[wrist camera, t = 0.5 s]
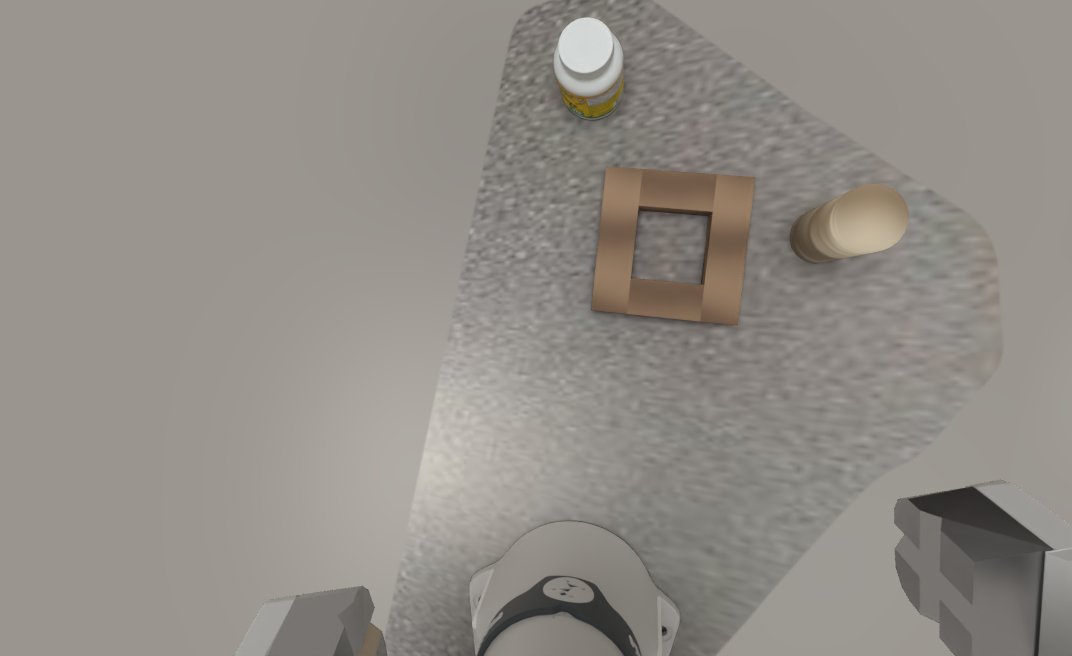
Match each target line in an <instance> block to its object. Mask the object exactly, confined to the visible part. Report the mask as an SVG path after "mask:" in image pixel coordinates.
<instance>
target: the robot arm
mask: <svg viewBox="0 0 1072 656" xmlns="http://www.w3.org/2000/svg"><path fill="white" fill-rule="evenodd" d="M894 523H895V524H896V526H897V527H898V528H899V529H900V530H901V531H902V532H903V533H904V534H905V535H904V536H903V538H902V539H901V540H900V542H899V543H898V545H897V546H896V548H895V561H896V570H897V573H898V576H899V579H900V582H901V586H902V588H903V590H904V591H905V593H906V595H907V597H908V599H909V600H910V602H911V603H912V604H913V606H914V607H915V608H916V609H917V610H918V612H919V613H920V614H921V615H924V616H926V617H928V618H930V619H932V620H934V621H936V622H938V623H940V639H941V640H942V641H943V642H944V643H945V645H946V646H947V647H948V648H949V649H950V651H951V652H952V653H953V654H954V655H955V656H1072V526H1071V525H1070V524H1068V523H1067V522H1065V521H1064V520H1063V519H1061V518H1060V517H1058V516H1057V515H1056V514H1054V513H1053V512H1051V511H1050V510H1049V509H1047V508H1046V507H1044V506H1043V505H1042V504H1040V503H1039V502H1037V501H1036V500H1035V499H1033V498H1032V497H1030V496H1029V495H1028V494H1026V493H1025V492H1023V491H1022V490H1020V489H1019V488H1018V487H1016V486H1015V485H1013V484H1012V483H1010V482H1007V481H1003V480H996V481H991V482H986V483H980V484H976V485H970V486H966V487H965V488H960V489H955V490H949V491H942V492H936V493H931V494H925V495H919V496H913V497H907V498H902V499H898V500H897V503H896V506H895V508H894ZM469 595H470V605H471V616H472V627H473V637H474V647H475V656H669V654H670V651H671V648H672V645H673V642H674V639H675V636H676V633H677V630H678V627H679V623H680V612H679V609H678V607H677V606H676V605H675V604H674V602H673V601H672V600H671V599H670V598H668V597H667V596H666V595H665V594H664V593H663V592H661V591H660V590H659V589H658V588H657V587H656V586H655V585H654V583H653V581H652V580H651V578H650V576H649V574H648V572H647V570H646V568H645V566H644V565H643V563H642V561H641V560H640V558H639V557H638V556H637V554H636V553H635V552H634V551H633V550H632V549H631V548H630V547H629V546H628V545H627V544H626V543H625V542H624V541H623V540H621V539H620V538H619V537H617V536H616V535H614V534H613V533H611V532H609V531H607V530H605V529H603V528H601V527H598V526H595V525H592V524H588V523H583V522H576V521H562V522H555V523H550V524H546V525H543V526H540V527H538V528H536V529H534V530H532V531H530V532H528V533H527V534H525V535H524V536H522V537H521V538H520V539H519V540H518V541H516V542H515V543H514V544H513V546H512V547H511V548H510V549H509V550H508V551H507V553H506V554H505V555H504V556H503V557H502V558H501V559H500V560H499V561H498V562H496V563H494V564H491V565H489V566H487V567H485V568H483V569H481V570H479V571H478V572H476V573H475V574H474V575H473V577H472V578H471V581H470V585H469ZM480 596H481V598H480ZM374 608H375V607H374V604H373V602H372V599H371V596H370V593H369V591H368V589H366V588H365V587H363V586H359V587H353V588H345V589H337V590H330V591H324V592H317V593H309V594H303V595H300V596H299V595H296V596H289V597H284V598H277V599H271V600H269V601H267V602H266V603H265V604H263V605H262V606H261V608H260V610H259V612H258V614H257V615H256V617H255V619H254V621H253V623H252V624H251V626H250V628H249V630H248V631H247V633H246V635H245V637H244V639H243V640H242V642H241V644H240V646H239V647H238V649H237V651H236V653H235V655H234V656H387V650H386V644H385V640H384V637H383V634H382V631H381V630H379V629H378V628H377V627H376V626H374V625H373V624H372V623H371V622H370V620H371V618H372V614H373V611H374ZM661 626H663V627H665V628H666V631H664V632H662V627H661Z"/></svg>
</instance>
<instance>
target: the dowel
mask: <svg viewBox="0 0 1072 656" xmlns="http://www.w3.org/2000/svg"><path fill="white" fill-rule="evenodd" d="M908 221H909V213H908V208H907V205H906V202H905V201H904V199H903V198H902V196H901V195H900V194H899V193H898V192H897V191H895V190H894V189H892V188H891V187H888V186H886V185H882V184H866V185H862V186H860V187H857V188H855V189H853V190H851V191H849V192H847V193H845V194H843V195H841V196H839V197H837V198H835V199H833V200H831V201H829V202H827V203H825V204H823V205H821V206H819V207H817V208H815V209H813V210H811V211H809V212H807V213H806V214H804V215H802V216H801V217H800V218H798V219H797V221H796V222H795V223H794V225H793V227H792V229H791V233H790V242H791V246H792V248H793V250H794V252H795V253H796V254H797V255H798V256H799V257H800V258H801V259H803V260H805V261H807V262H810V263H824V262H828V261H833V260H838V259H843V258H848V257H853V256H857V255H862V254H867V253H872V252H877V251H881V250H884V249H887V248H889V247H891V246H892V245H894V244H895V243H896V242H898V241H899V239H900V238H901V237H902V236H903V234H904V233H905V231H906V228H907V225H908Z"/></svg>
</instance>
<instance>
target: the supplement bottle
mask: <svg viewBox="0 0 1072 656" xmlns="http://www.w3.org/2000/svg"><path fill="white" fill-rule="evenodd" d="M554 70H555V75H556V78H557V81H558V84H559V87H560V90H561V93H562V96H563V99H564V102H565V104H566V106H567V107H568V108H569V110H570V111H571V112H573V113H574V114H576V115H577V116H579V117H581V118H584V119H588V120H596V119H600V118H603V117H605V116H607V115H609V114H610V113H612V112H613V111H614V110H615V109H616V108H617V106H618V105H619V103H620V101H621V99H622V96H623V92H624V61H623V52H622V48H621V45H620V43H619V41H618V40H617V38H616V37H615V36H614V35H613V34H612V33H611V32H610V30H609V29H608V27H607V26H606V25H605V24H604V23H602V22H601V21H599V20H597V19H594V18H580V19H577V20H575V21H573V22H572V23H570V24H569V25H568V26H567V27H566V28H565V29H564V30H563V32H562V34H561V36H560V39H559V43H558V45H557V48H556V51H555V54H554Z"/></svg>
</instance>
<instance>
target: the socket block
mask: <svg viewBox="0 0 1072 656" xmlns="http://www.w3.org/2000/svg"><path fill="white" fill-rule="evenodd" d="M754 183H755V177H743V176H729V175H716V174H702V173H688V172H675V171H661V170H647V169H634V168H620V167H606V174H605V184H604V193H603V202H602V212H601V221H600V231H599V240H598V249H597V259H596V268H595V278H594V287H593V296H592V306H591V310H595V311H605V312H614V313H624V314H633V315H643V316H653V317H662V318H672V319H681V320H691V321H701V322H710V323H720V324H729V325H738V318H739V310H740V301H741V293H742V284H743V276H744V268H745V259H746V251H747V242H748V234H749V225H750V217H751V209H752V200H753V192H754ZM638 210H644V211H656V212H668V213H680V214H693V215H705V216H709V219H708V228H707V237H706V245H705V254H704V263H703V271H702V280H701V285H698V284H688V283H678V282H667V281H657V280H647V279H636V278H631V271H632V262H633V253H634V244H635V235H636V226H637V216H638Z"/></svg>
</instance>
